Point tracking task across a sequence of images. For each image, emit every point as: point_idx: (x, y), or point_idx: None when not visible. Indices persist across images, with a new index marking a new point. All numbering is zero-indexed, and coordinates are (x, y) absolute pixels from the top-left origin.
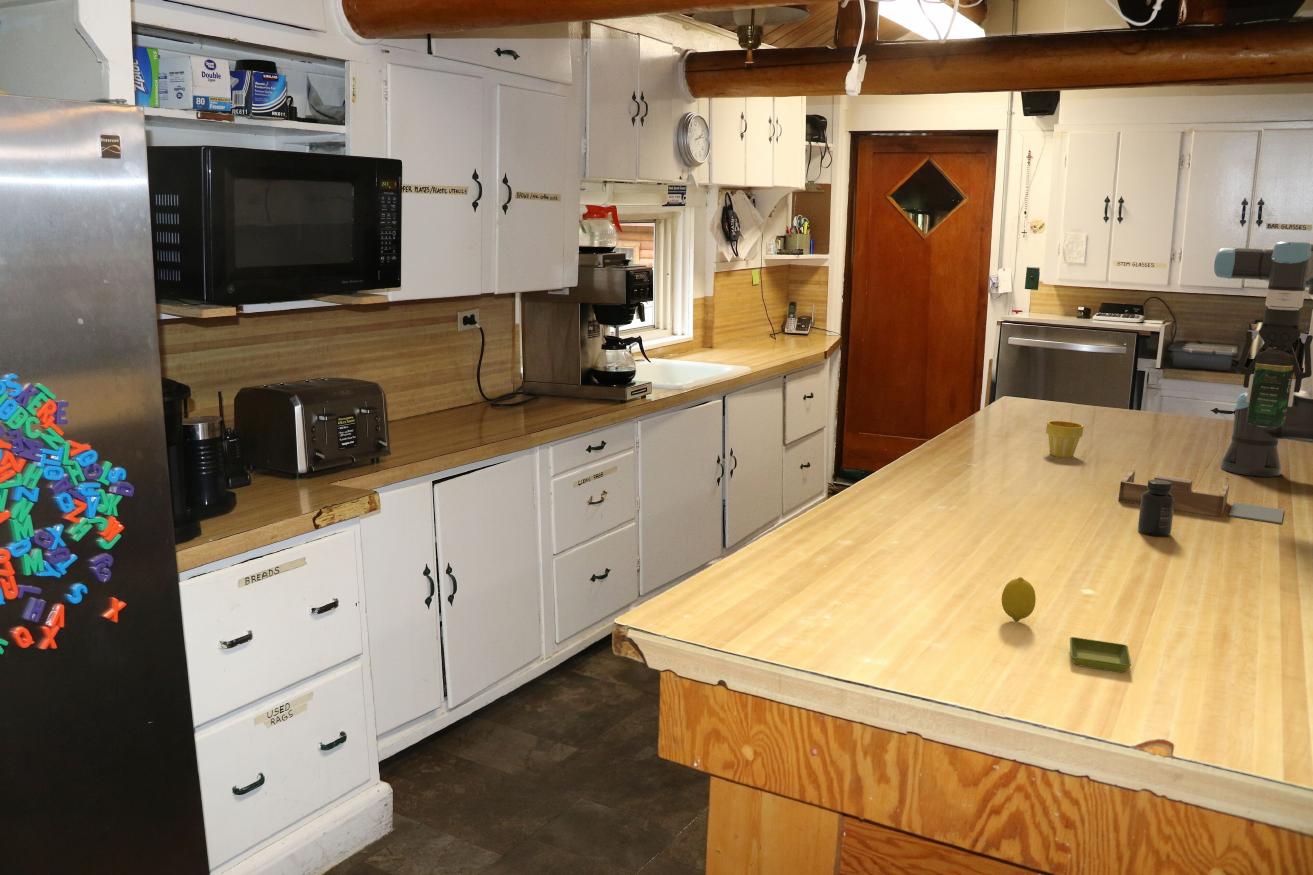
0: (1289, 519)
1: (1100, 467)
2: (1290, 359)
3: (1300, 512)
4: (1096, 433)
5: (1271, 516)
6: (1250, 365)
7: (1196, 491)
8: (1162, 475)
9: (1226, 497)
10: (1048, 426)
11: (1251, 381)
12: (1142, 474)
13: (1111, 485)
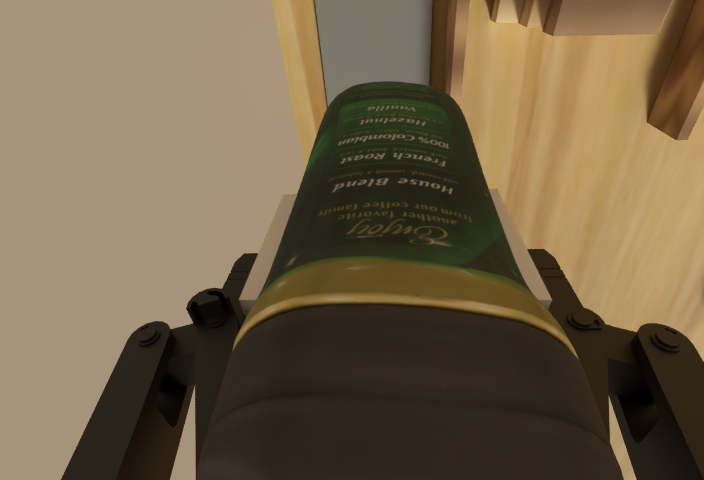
0: (310, 69)
1: (677, 267)
2: (212, 424)
3: (305, 152)
4: (623, 446)
5: (343, 51)
6: (596, 376)
7: (529, 16)
8: (643, 30)
9: None
10: None
11: (520, 267)
12: (594, 261)
13: (699, 122)
